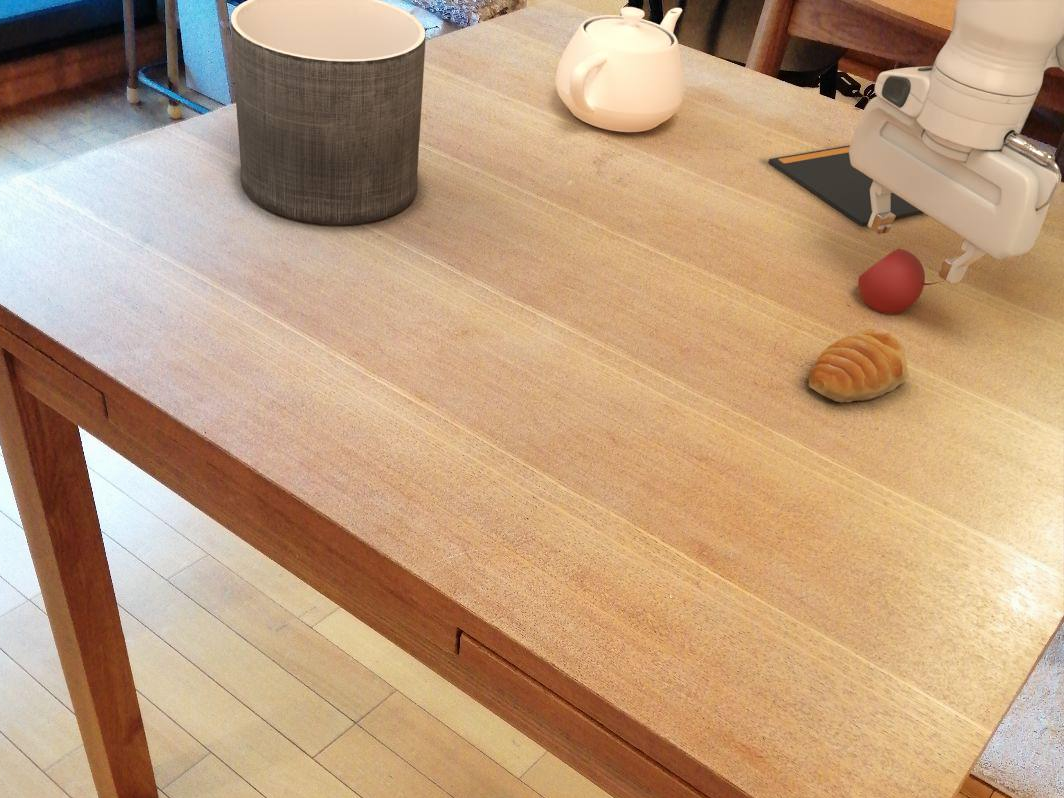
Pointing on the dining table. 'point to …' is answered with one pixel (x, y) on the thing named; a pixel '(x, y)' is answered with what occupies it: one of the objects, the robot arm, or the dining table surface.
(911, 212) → the corner mat
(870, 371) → the pastry
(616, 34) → the teapot
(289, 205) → the planter
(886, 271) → the fruit
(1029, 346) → the dining table surface
